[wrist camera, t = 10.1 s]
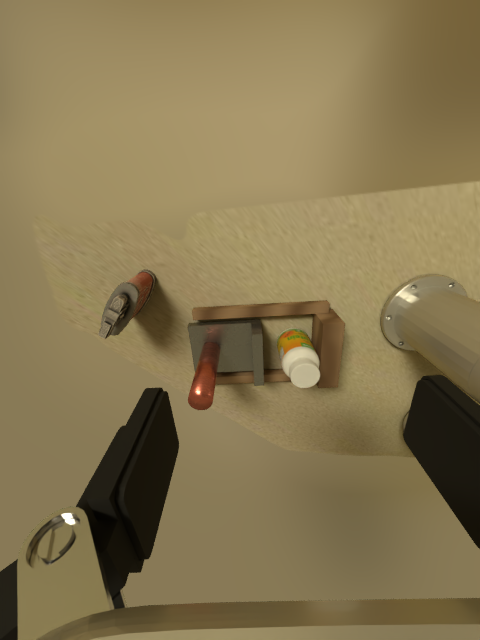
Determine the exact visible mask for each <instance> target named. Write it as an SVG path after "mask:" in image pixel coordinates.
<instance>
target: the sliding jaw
mask: <svg viewBox="0 0 480 640" xmlns="http://www.w3.org/2000/svg"><path fill="white" fill-rule="evenodd" d="M188 331H189V337H190V343H191V349H192V355H193V362H194V368H195V376H194V379H193V383H192V386H191V390H190V393H189V397H188V403H189V404H190V406H191V407H193V408H194V409H197V410H205V409H208V408H209V407H210V406H211V405H212V402H213V396H214V389H215V383H216V376H217V372H236V371H253V373H254V386H259V385H264V370H263V337H262V328H261V322H260V319H258V320H239V321H220V322H201V323H189V325H188Z"/></svg>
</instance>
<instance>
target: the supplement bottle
mask: <svg viewBox="0 0 480 640" xmlns="http://www.w3.org/2000/svg"><path fill="white" fill-rule="evenodd" d="M277 348H278V352H279V356H280V360H281V364H282V368H283V370H284V372H285V374H286V375H287V376H288V377H290V379H291V381H292V383H293V384H294V385H295V386H297V387H300V388H309V387H311V386H313V385H315V384H316V383H317V382H318V380H319V378H320V371H319V365H320V361H319V357H318V355H317V353H316V351H315V349H314V347H313V345H312V343H311V341H310V339H309V337H308V335H307V334H306V332H304V331H303V330H301V329H299V328H289V329H286V330H284V331H283V332H282V333H281V334H280V335H279V337H278V339H277Z"/></svg>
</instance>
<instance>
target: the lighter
mask: <svg viewBox="0 0 480 640" xmlns="http://www.w3.org/2000/svg"><path fill="white" fill-rule="evenodd" d="M155 282H156V276H155V274H154V273H153V272H152V271H150V270H146V269H144V270H141V271H140V272H139V273H138V274H137V275H136V276H135V277H133V278H132V279H130V280H129V281H127V282H123V283H121V284H120V285H118V287H117V288H116V289H115V290H114V292H113V293H112V294H111V296H110V298H109V300H108V302H107V304H106V306H105V309H104V312H103V316H102V321H101V328H100V331H99V333H98V334H99V336H100V337H102V338H104V339H106V338H107V337H109V336H110V335H118V334H119V333H120V332H121V331H122V330H123V329H124V328H125V327H126V325H127V324H128V323H129V321H130V320H131V319H132V318H133V317H134V316H136V315H138V314H139V313H140V312H141V310H142V309H143V308H144V307H145V306H146V304H147V302H148V301H149V299H150V297H151V295H152V292H153V290H154V286H155Z"/></svg>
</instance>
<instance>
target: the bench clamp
mask: <svg viewBox="0 0 480 640" xmlns="http://www.w3.org/2000/svg"><path fill="white" fill-rule="evenodd" d="M329 306H330V304H329V302H328V301H327V300H326V301H308V302H290V303H271V304H253V305H235V306H217V307H199V308H193V310H192V315H193V320H207V319H225V318H244V317H263V316H281V315H300V314H313V324H312V341H311V343H312V345H313V347H314V349H315V351H316V353H317V355H318V357H319V361H320V365H319V371H320V378H319V380H318V382H317V383H316V384H317V386H318V388H330V387H338V380H339V371H340V363H341V354H342V346H343V337H344V328H345V323H344V322H343V321H342V319H341V318H340V317H339V316H338V315H337V314H336V313H335V311H334V310H333V309H329ZM277 381H291V379H290V377H288V376H287V375H286V374H285V372H284V370H283V369H272V370H264V382H277ZM232 383H254V373H253V371H236V372H217V376H216V383H215V384H232Z"/></svg>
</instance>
